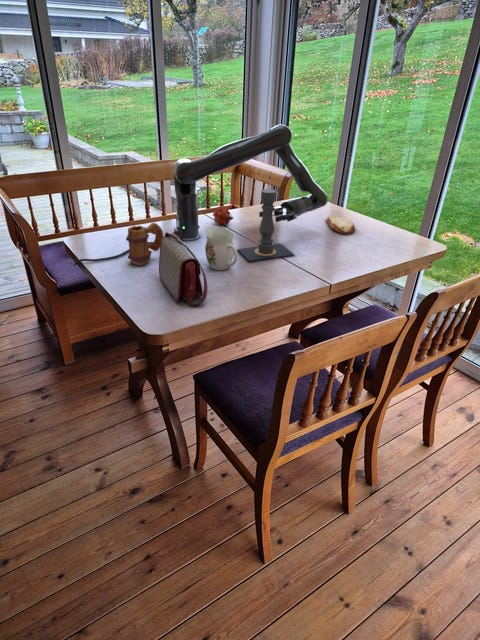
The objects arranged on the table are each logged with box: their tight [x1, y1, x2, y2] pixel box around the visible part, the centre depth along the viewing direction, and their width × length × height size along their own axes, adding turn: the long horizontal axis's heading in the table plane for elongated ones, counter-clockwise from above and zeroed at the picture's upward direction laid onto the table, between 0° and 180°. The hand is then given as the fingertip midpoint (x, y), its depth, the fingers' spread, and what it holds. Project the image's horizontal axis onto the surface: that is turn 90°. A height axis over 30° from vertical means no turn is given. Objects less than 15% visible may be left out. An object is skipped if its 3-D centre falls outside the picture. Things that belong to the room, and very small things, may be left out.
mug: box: [125, 222, 164, 266], centre depth 175 cm, size 15×8×15 cm, turn 117°
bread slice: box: [326, 215, 356, 236], centre depth 217 cm, size 18×18×4 cm
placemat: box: [236, 243, 295, 263], centre depth 188 cm, size 20×13×1 cm, turn 111°
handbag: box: [158, 231, 208, 306], centre depth 153 cm, size 28×11×17 cm, turn 25°
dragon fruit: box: [212, 205, 234, 226], centre depth 218 cm, size 8×8×12 cm
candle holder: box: [258, 188, 277, 254], centre depth 181 cm, size 6×6×25 cm
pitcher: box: [204, 226, 239, 271], centre depth 172 cm, size 11×18×14 cm, turn 41°
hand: (267, 217), depth 181 cm, fingers open, 8 cm apart
